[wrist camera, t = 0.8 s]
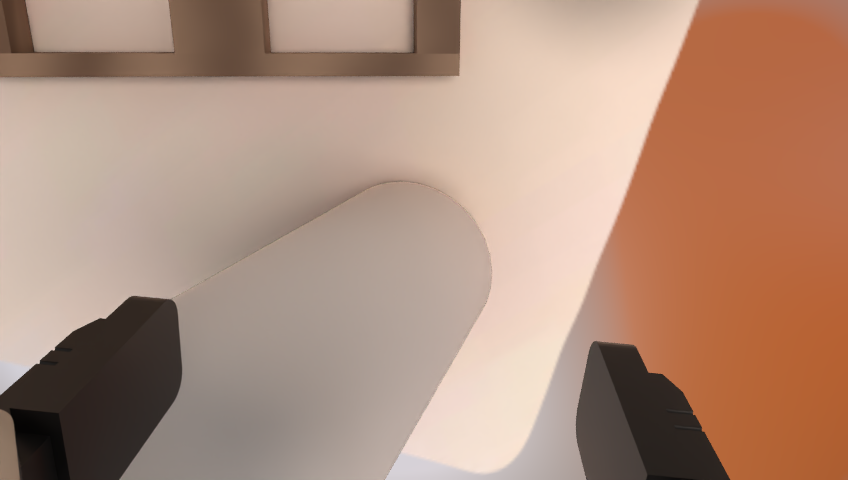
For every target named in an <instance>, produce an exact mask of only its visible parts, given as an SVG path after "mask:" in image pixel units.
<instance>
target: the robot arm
mask: <svg viewBox="0 0 848 480" xmlns="http://www.w3.org/2000/svg"><path fill="white" fill-rule="evenodd" d="M181 380H182V358H181V346H180V334H179V321H178V311H177V306H176V304H175V302H174V301H173V300H171V299H160V298H150V297H140V296H131V297H129V298H128V299H127V300H126V301H125V302H124V303H123V304H121V305H120V306H119V307H118V308H117V309H116V310H115V311H114V312H113V313H112V314H111V315H109V316H108V317H107V318H106V319H102V318H100V319H98V320H96V321H93V322H91V323H89V324H87V325H85V326H83V327H81V328H79V329H77V330H75V331H73V332H72V333H71V334H70V335H69V336H67V337H66V338H65V339H64V340H63V341H62V342H61V343H59V344H58V345H57V346H56V347H55V351H53V350H51V351H50V352H49V353H48V354H47V355H46V356H45V357H43V358H42V359H41V360H40V364H35V365H34V366H33V367H32V368H31V369H30V370H29V371H28V372H26V373H25V374H24V375H23V376H22V377H21V378H20V379H18V380H17V381H16V382H15V383H14V384H13V385H12V386H10V387H9V388H8V389H7V390H6V391H5V392H4V393H3V394H1V395H0V480H119V479H120V478H121V477H122V475H123V474H124V472H125V471H126V469H127V468H128V467H129V465H130V464H131V462H132V461H133V459H134V458H135V457H136V455H137V454H138V452H139V451H140V449H141V448H142V447H143V445H144V444H145V442H146V441H147V440H148V438H149V437H150V435H151V434H152V432H153V431H154V430H155V428H156V427H157V425H158V424H159V422H160V421H161V420H162V418H163V417H164V415H165V414H166V412H167V411H168V410H169V408H170V407H171V405H172V404H173V402H174V401H175V399H176V397H177V395H178V392H179V389H180V385H181ZM576 435H577V436H576V437H577V443H578V447H579V451H580V455H581V459H582V463H583V467H584V471H585V475H586V479H587V480H730V479H729V477H728V475H727V473H726V471H725V469H724V467H723V466H722V464H721V462H720V460H719V458H718V457H717V455H716V453H715V451H714V449H713V447H712V445H711V443H710V442H709V440H708V438H707V436H706V434H705V432H702V427H701V425H700V423H699V421H698V420H697V418H696V416H695V415H693V410H692V408H691V407H690V405H689V403H688V401H687V399H686V397H685V396H684V394H683V392H682V391H681V390H680V389H679V388H677V387H676V386H675V385H674V384H673V383H672V382H671V381H669V380H668V379H667V378H666V377H665V376H664V375H663V374H656V373H648V371H647V369H646V367H645V365H644V363H643V361H642V358H641V356H640V354H639V352H638V350H637V348H636V347H635V346H634V345H629V344H618V343H608V342H597V341H595V342H593V343H592V345H591V347H590V350H589V355H588V359H587V364H586V369H585V374H584V379H583V384H582V389H581V394H580V399H579V403H578V408H577V416H576Z"/></svg>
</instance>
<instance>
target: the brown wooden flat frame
mask: <svg viewBox="0 0 848 480" xmlns="http://www.w3.org/2000/svg"><path fill="white" fill-rule="evenodd" d="M169 9H170V17H171V26H172V35H173V43H174V52H34V49H33V44H32V38H31V33H30V27H29V21H28V16H27V10H26V5H25V0H0V77H117V76H459V60H460V9H461V0H414V53H271V47H270V33H269V18H268V4H267V0H169Z"/></svg>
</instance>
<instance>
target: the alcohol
mask: <svg viewBox="0 0 848 480" xmlns="http://www.w3.org/2000/svg"><path fill="white" fill-rule="evenodd" d="M491 279H492V266H491V258H490V253H489V250H488V247H487V244H486V241H485V238H484V236H483V234H482V233H481V231H480V229H479V227H478V225H477V224H476V222H475V221H474V220H473V218H472V217H471V216H470V215H469V214H468V212H467V211H466V210H465V209H464V208H463V207H462V206H461V205H459V204H458V203H457V202H456V201H454V200H453V199H452V198H451V197H449V196H447V195H446V194H444V193H442V192H440V191H438V190H436V189H435V188H431V187H428V186H425V185H422V184H419V183H412V182H403V181H400V182H389V183H383V184H380V185H377V186H374V187H370V188H369V189H367V190H365V191H363V192H361V193H360V194H358V195H356V196H354V197H353V198H351V199H349V200H347V201H345V202H344V203H342V204H340V205H338V206H336V207H335V208H333V209H331V210H329V211H328V212H326V213H324V214H322V215H320V216H319V217H317V218H315V219H313V220H311V221H310V222H308V223H306V224H304V225H303V226H301V227H299V228H297V229H295V230H294V231H292V232H290V233H288V234H287V235H285V236H283V237H281V238H279V239H278V240H276V241H274V242H272V243H270V244H269V245H267V246H265V247H263V248H262V249H260V250H258V251H256V252H254V253H253V254H251V255H249V256H247V257H245V258H244V259H242V260H240V261H238V262H237V263H235V264H233V265H231V266H229V267H228V268H226V269H224V270H222V271H221V272H219V273H217V274H215V275H213V276H212V277H210V278H208V279H206V280H204V281H203V282H201V283H199V284H197V285H196V286H194V287H192V288H190V289H188V290H187V291H185V292H183V293H181V294H179V295H178V296H176V297H174V298H172V299H171V300H173V301H174V302H175V304H176V306H177V311H178V321H179V334H180V346H181V358H182V380H181V385H180V389H179V392H178V395H177V397H176V399H175V401H174V402H173V404H172V405H171V407H170V408H169V410H168V411H167V412H166V414H165V415H164V417H163V418H162V420H161V421H160V422H159V424H158V425H157V427H156V428H155V430H154V431H153V432H152V434H151V435H150V437H149V438H148V440H147V441H146V442H145V444H144V445H143V447H142V448H141V449H140V451H139V452H138V454H137V455H136V457H135V458H134V459H133V461H132V462H131V464H130V465H129V467H128V468H127V469H126V471H125V472H124V474H123V475H122V477H121V478H120V479H119V480H385V479H386V477H387V475H388V473H389V472H390V470H391V468H392V466H393V465H394V463H395V461H396V459H397V458H398V456H399V454H400V453H401V451H402V449H403V447H404V446H405V444H406V442H407V440H408V439H409V437H410V435H411V433H412V432H413V430H414V428H415V426H416V425H417V423H418V421H419V419H420V418H421V416H422V414H423V412H424V411H425V409H426V407H427V405H428V404H429V402H430V400H431V398H432V397H433V395H434V393H435V391H436V390H437V388H438V386H439V384H440V383H441V381H442V379H443V378H444V376H445V374H446V372H447V371H448V369H449V367H450V365H451V364H452V362H453V360H454V358H455V357H456V355H457V353H458V351H459V350H460V348H461V346H462V344H463V343H464V341H465V339H466V337H467V336H468V334H469V332H470V330H471V329H472V327H473V325H474V323H475V322H476V320H477V318H478V316H479V315H480V313H481V311H482V309H483V308H484V306H485V304H486V302H487V299H488V295H489V292H490V289H491Z"/></svg>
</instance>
